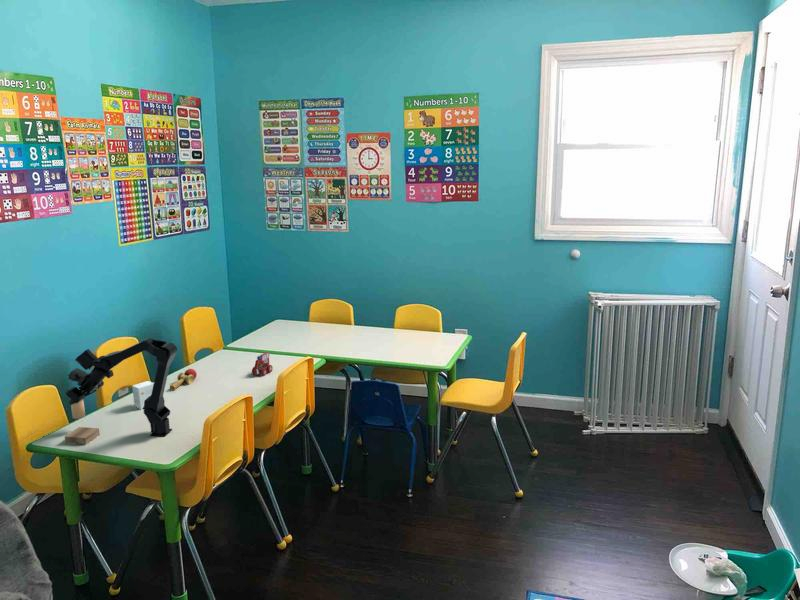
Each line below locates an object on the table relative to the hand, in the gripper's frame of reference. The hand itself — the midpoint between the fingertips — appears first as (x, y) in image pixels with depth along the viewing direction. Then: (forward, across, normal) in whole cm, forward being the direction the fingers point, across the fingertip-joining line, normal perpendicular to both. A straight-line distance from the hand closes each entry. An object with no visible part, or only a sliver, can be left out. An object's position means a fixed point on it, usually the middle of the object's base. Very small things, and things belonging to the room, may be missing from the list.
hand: (73, 401), depth 264 cm
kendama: (-6, -55, +25) cm, 61 cm away
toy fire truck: (-30, -73, +49) cm, 93 cm away
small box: (-2, -27, +21) cm, 34 cm away
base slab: (+4, +8, +14) cm, 17 cm away
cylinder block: (+4, 0, +6) cm, 7 cm away
